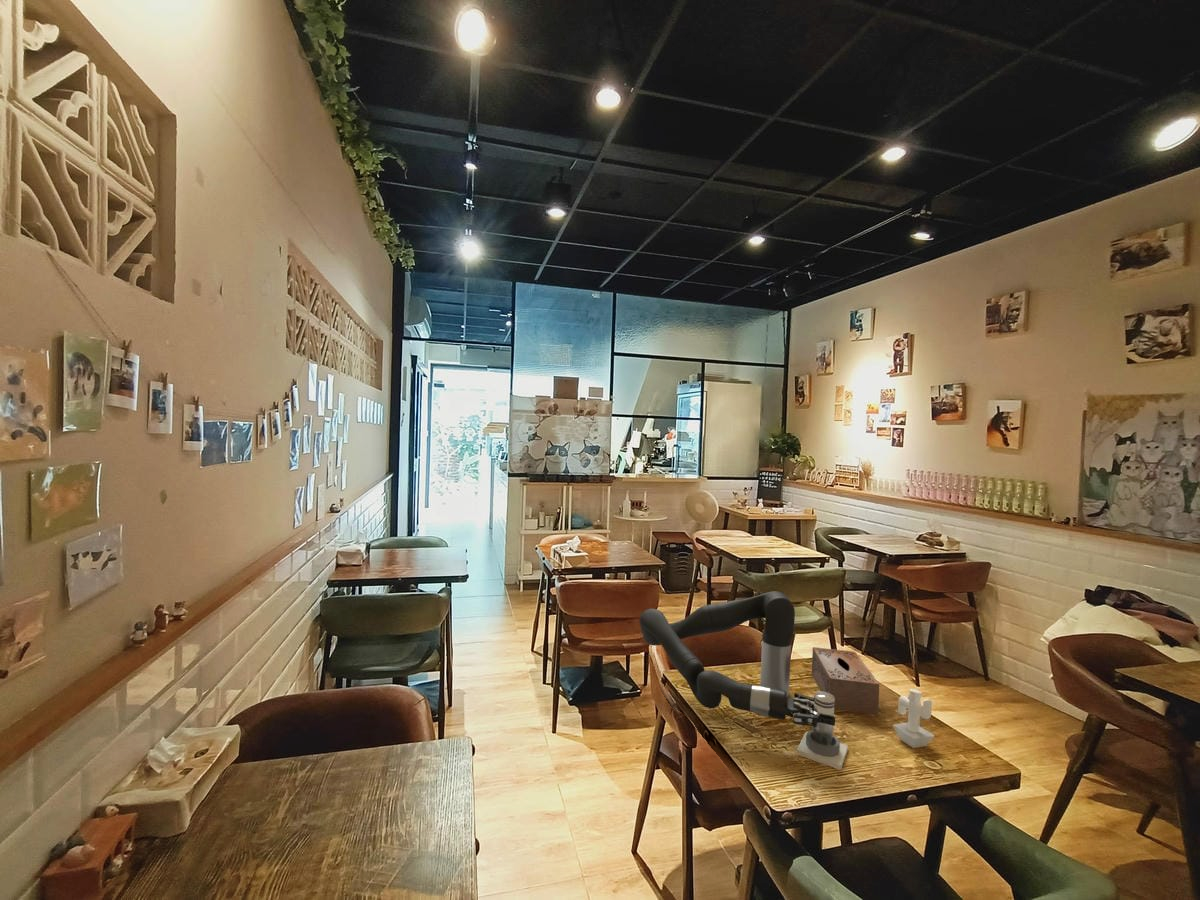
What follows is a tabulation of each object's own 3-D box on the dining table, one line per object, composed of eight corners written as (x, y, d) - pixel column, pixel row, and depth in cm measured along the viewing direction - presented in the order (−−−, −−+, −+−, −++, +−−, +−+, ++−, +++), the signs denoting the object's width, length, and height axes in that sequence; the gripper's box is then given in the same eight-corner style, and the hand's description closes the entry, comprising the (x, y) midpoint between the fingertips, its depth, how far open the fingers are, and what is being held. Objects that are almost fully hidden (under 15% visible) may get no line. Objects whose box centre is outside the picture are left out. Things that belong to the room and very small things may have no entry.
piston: (814, 732, 143) (816, 689, 143) (834, 738, 140) (836, 695, 140) (810, 740, 139) (812, 696, 138) (830, 747, 136) (833, 702, 136)
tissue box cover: (811, 674, 188) (812, 647, 188) (853, 679, 186) (855, 651, 186) (828, 709, 163) (830, 678, 163) (877, 715, 160) (879, 684, 160)
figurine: (908, 732, 151) (910, 681, 151) (937, 750, 142) (940, 697, 142) (888, 735, 149) (891, 683, 149) (917, 754, 140) (920, 700, 140)
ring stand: (805, 735, 147) (806, 722, 147) (847, 749, 141) (848, 736, 141) (796, 754, 138) (796, 740, 138) (840, 770, 132) (841, 755, 132)
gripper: (768, 703, 151) (832, 717, 145) (765, 727, 138) (835, 744, 132) (770, 678, 151) (833, 690, 145) (767, 700, 138) (837, 715, 131)
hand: (834, 716), depth 138 cm, fingers closed on piston, 5 cm apart
